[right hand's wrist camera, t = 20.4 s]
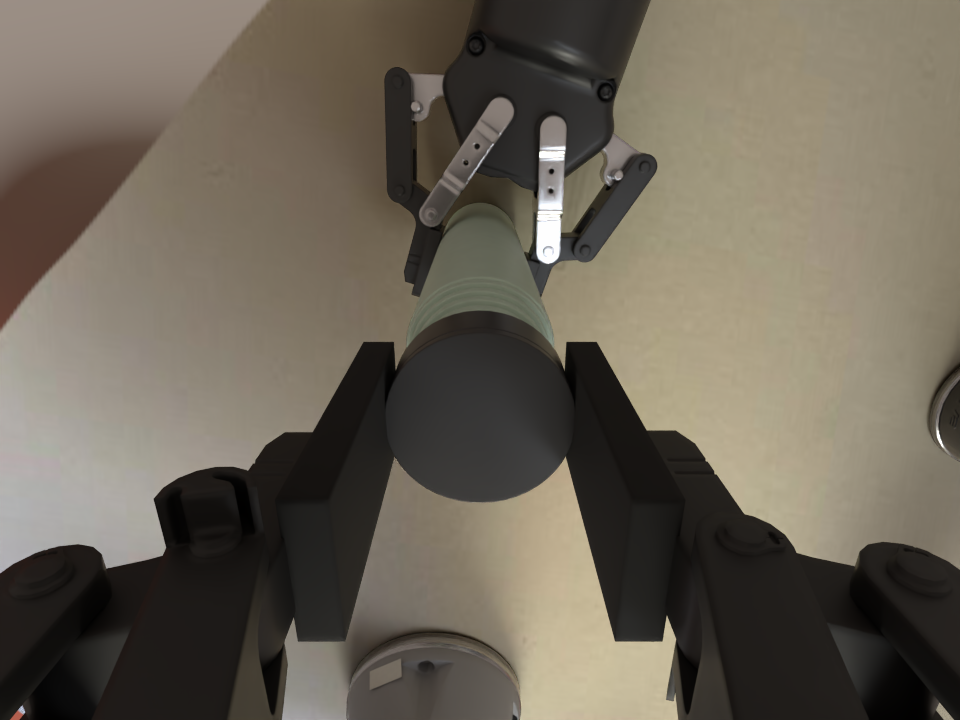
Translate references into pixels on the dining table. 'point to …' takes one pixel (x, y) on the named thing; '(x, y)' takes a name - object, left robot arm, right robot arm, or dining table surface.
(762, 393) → the dining table surface
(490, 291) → the bottle
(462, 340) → the cap
